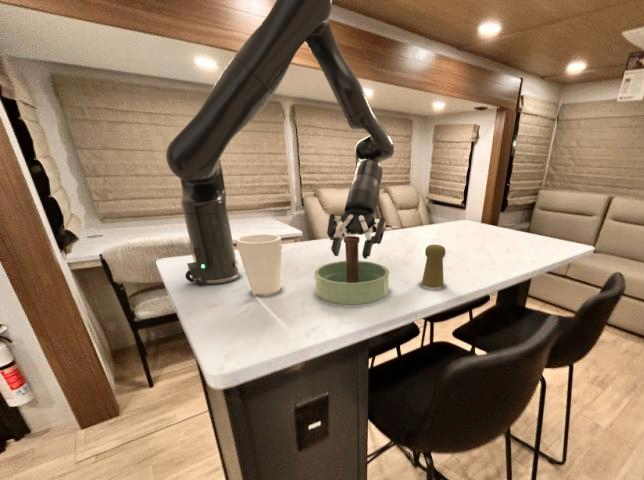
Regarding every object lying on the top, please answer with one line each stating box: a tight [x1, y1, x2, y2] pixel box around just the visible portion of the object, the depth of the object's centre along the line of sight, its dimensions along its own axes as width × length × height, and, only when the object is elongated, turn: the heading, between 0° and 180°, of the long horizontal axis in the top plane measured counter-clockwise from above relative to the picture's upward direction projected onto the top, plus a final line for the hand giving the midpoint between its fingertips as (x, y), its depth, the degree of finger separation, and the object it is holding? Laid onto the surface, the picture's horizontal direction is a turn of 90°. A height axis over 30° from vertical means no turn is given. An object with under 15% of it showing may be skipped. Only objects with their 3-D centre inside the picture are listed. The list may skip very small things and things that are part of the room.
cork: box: [421, 244, 446, 289], centre depth 81 cm, size 6×6×11 cm
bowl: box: [314, 260, 390, 306], centre depth 76 cm, size 18×18×6 cm
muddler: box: [343, 235, 361, 283], centre depth 74 cm, size 4×4×13 cm
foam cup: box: [235, 233, 283, 297], centre depth 72 cm, size 10×9×13 cm
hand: (349, 255), depth 71 cm, fingers open, 6 cm apart
